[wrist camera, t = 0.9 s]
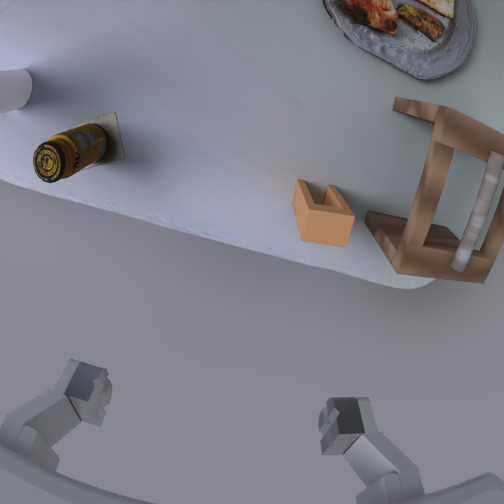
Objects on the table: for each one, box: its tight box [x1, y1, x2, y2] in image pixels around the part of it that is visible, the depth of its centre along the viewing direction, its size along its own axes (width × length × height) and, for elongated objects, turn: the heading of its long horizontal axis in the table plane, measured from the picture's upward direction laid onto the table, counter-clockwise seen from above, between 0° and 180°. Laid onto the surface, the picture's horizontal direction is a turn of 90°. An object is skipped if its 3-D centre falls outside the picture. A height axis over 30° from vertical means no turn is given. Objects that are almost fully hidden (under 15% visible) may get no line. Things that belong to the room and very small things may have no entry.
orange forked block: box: [292, 179, 355, 247], centre depth 39 cm, size 4×6×11 cm
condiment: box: [33, 112, 125, 183], centre depth 35 cm, size 7×8×12 cm
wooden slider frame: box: [364, 97, 504, 284], centre depth 34 cm, size 20×16×16 cm
